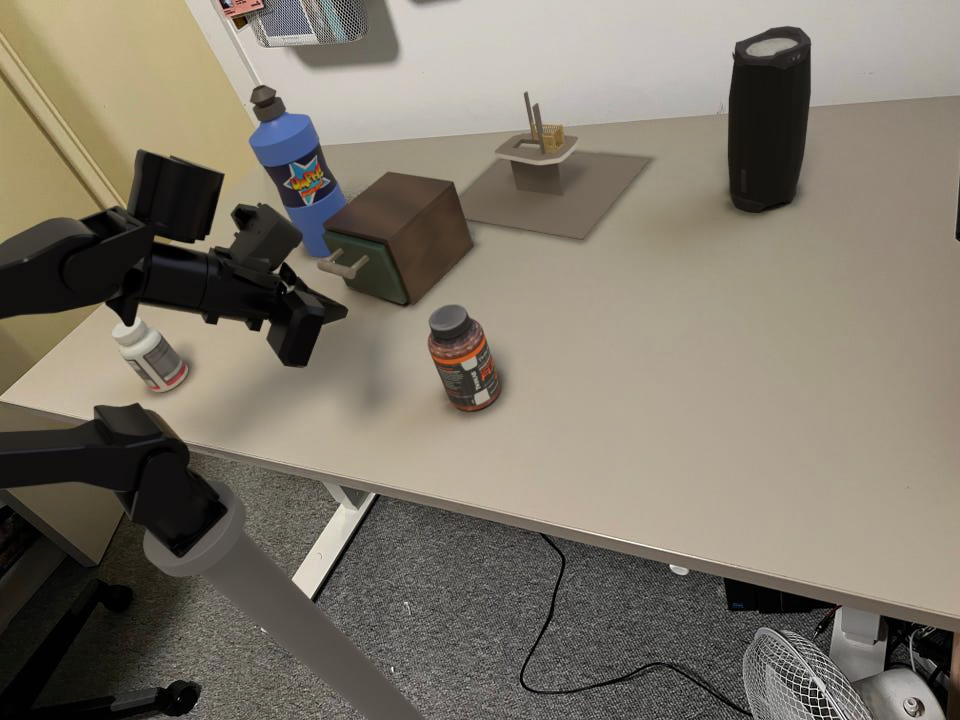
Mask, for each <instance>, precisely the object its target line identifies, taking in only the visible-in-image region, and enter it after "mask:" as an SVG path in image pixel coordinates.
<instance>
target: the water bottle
mask: <svg viewBox="0 0 960 720" xmlns="http://www.w3.org/2000/svg"><path fill="white" fill-rule="evenodd" d="M249 103H251V104H252V105H254V106H253V107H252V111H253V113H254V115H255V118H256V120H257V121H259V126H258V127H257V128H256V129H255V131H253V133H252V134H251V135H250V136H249V138H248V144H249V146H250V148H251V149H252V151H253V153H254V155H255V158H256V159H257V161H258V162H259V164H260V165H261V166H262V167H263V169H264V170H265V172H266V174H268V176H269V178H270V179H271V181H272V182H273V184H274V185H275V187H276V189H277V192H278V195H279V198H280V200H281V204H282V206H283V208H284V210H285V212H286V214H287V215H288V218H289V219H290V222H292V223H293V224H294V225H295V226H296V227H297V228H298V229H299V230H300V231H301V232H302V233H303V239H302V241H301V243H302V244H303V246H304V248H305V250H306V252H307V254H308V255H310V256H312V257H315V258H325V257H330V256H331V254H330V252H329V250H328V248H327V246H326V244H325V242H324V240H323V238H322V236H321V235H322V234H324V233H325V232H326V231H325V229H324V227H323V225H322V224H323V223H324V222H325V221H326V220H328V219H329V218H330V217H331V216H333V215H334V214H335V213H337V212H338V211H339V210H340V209H342V208H343V207H344V206H345V205H347V204H348V202H347V199H346V197H345V195H344V193H343V191H342V188H341V187H340V184H339V182H338V180H337V179H336V177H335V176H334V175H333V173H332V171H331V169H330V168H329V166H328V164H327V162H326V158H325V154H324V152H323V149H322V146H321V142H320V137H319V135H318V132H317V130H316V127H315V125H314V123H313V121H312V119H311V117H310V115H308V114H304V113H290V112H288V111H286V110H287V107H286V105H285V103H284V101H283V99H282V97H281V96H277V90H276V89H274V88H272V87H270V86H268V85H267V84H266V85H265V84H259V85H258V86H255V87H254V88H253V89H252V92H251V95H250V98H249Z"/></svg>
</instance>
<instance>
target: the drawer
mask: <svg viewBox="0 0 960 720" xmlns="http://www.w3.org/2000/svg"><path fill="white" fill-rule="evenodd" d="M321 236H322V238H323V240H324V242H325V244H326V246H327V248H328V250H329V252H330V254H331V255H330V256H327V258H326V259H319V260H318V261H317V264H316V267H317V269H318V270H319V271H322V272H326V273H329V274H332V275H335V276H338V277H341V278H342V280H343V281H344V284H345V286H346V287H348V288H350V289H353V290H357V291H360V292H362V293H366V294H369V295H372V296H375V297H379V298H382V299H385V300H388V301H390V302H394V303H397V304H400V305H404V304H405V303H406V301H407V300H408V297H407V294H406V292H405V289H404V287H403V285H402V282H401V280H400V278H399V275H398V273H397V270H396V268H395V266H394V263H393V261H392V259H391V256H390V254H389V252H388V249H387V247H386V245H385V244H384V243H380V242H376V241H372V240H368V239H364V238H360V237H356V236H352V235H348V234H344V233H341V234H340V233H336V232H332V231H328V230H327V231H326V232H325V233H324V234H322V235H321Z"/></svg>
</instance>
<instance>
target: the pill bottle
mask: <svg viewBox="0 0 960 720" xmlns="http://www.w3.org/2000/svg"><path fill="white" fill-rule="evenodd" d="M111 337H112V338H113V339H114V340H115V342H117V344H118V345H119V350H118V351H119V354H120V356H121V358H123V360H124V361H125V362H126V363H127V364H128V365H129V367H131V369H132V370H133V371H134V372H135V373H136V374H137V375H138V376H139V378H140V379H141V380H142V381H143V382H144V383H145V384H146V385H147V386H148V387H149V388H150V390H151V391H152V392H156V393H165V392H168V391H170V390H172V389H174V388H176V387H177V386H179V385H180V384H181V383H182V382H183V381H184V380H185V379H186V377H187V375H188V373H189V367H188V366H187V364H186V363H185V362H184V360H183V359H182V358H181V356H180V355H179V354H178V353H177V352H176V350H175V349H174V348H173V347H172V345H171V344H170V343H169V342H168V341H167V339H166V338H165V337H164V336H163V334H162V333H161V332H160V331H159V330H158V329H157V328H155V327H148V325H147V323H146V322H145V321H144V320H143V319H142V318H141V317H140V316H137V315H136V318H135V323H134V325H133V326H132V327H126V326H125V325H124V323H123V322H122V321H120V322H119V323H117V325H116V326H114V327H113V329H112V331H111Z"/></svg>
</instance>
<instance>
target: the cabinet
mask: <svg viewBox="0 0 960 720" xmlns="http://www.w3.org/2000/svg"><path fill="white" fill-rule="evenodd" d="M459 197H460V196H459V194H458V190H457V187H456V184H455V182H454V181H453V180H446V179H441V178H433V177H429V176H428V177H426V176H420V175H415V174H408V173H401V172H395V171H386V172H385V173H384V174H383V175H382V176H380V177H379V178H378V179H377V180H376V181H373V183H372V184H370V185H369V186H368V187H366V188H365V189H364V190H363V191H361V192H360V193H359V194H358V195H356V196H355V197H354V198H353V199H352V200H350V201H349V202H347V205H345V206H344V207H343V208H342V209H340V210H339V211H338V212H337V213H335V214H334V215H333V216H331V217H330V218H329V219H328V220H326V221H325V222H324V223H323V224H322V225H323V227H324V229H325V231H327V230H328V231H332V232H336V233H340V234H341V233H344V234H348V235H352V236H356V237H360V238H364V239H368V240H372V241H376V242H380V243H384V244H385V245H386V247H387V249H388V252H389V254H390V256H391V259H392V261H393V263H394V266H395V268H396V270H397V273H398V275H399V278H400V280H401V282H402V285H403V287H404V289H405V292H406V294H407V297H408V300H407V301H406V302H405V303H406V304H409V305H413V306H414V305H416V304H417V303H418V302H419V301H420V300H421V299H422V298H423V297H424V296H425V295H426V294H427V293H428V292H429V291H430V290H431V289H432V288H434V286H435V285H436V284H437V283H438V282H439V281H440V280H441V279H442V278H443V277H444V276H445V275H447V273H448V272H450V271H451V270H452V269H453V267H455V266H456V264H458V263H459V262H460V261H461V260H462V259H463V258H464V257H465V256H466V255H467V254H468V253H469V252H470V251H471V250H472V249H473V248H474V243H473V240H472V237H471V233H470V230H469V226H468V224H467V219H465V217H464V214H463V210H462V207H461V204H460V201H459V199H460V198H459Z"/></svg>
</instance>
